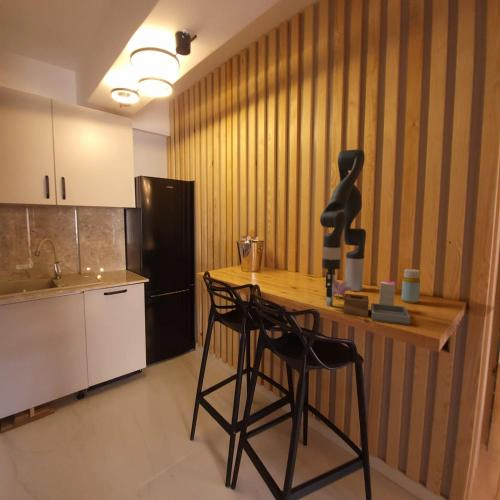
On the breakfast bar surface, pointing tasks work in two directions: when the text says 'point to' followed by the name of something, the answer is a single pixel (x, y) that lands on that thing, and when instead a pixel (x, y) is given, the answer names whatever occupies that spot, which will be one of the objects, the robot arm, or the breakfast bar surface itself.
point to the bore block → (356, 304)
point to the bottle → (411, 286)
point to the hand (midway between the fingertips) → (329, 294)
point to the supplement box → (387, 292)
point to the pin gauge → (330, 300)
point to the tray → (389, 314)
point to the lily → (340, 288)
